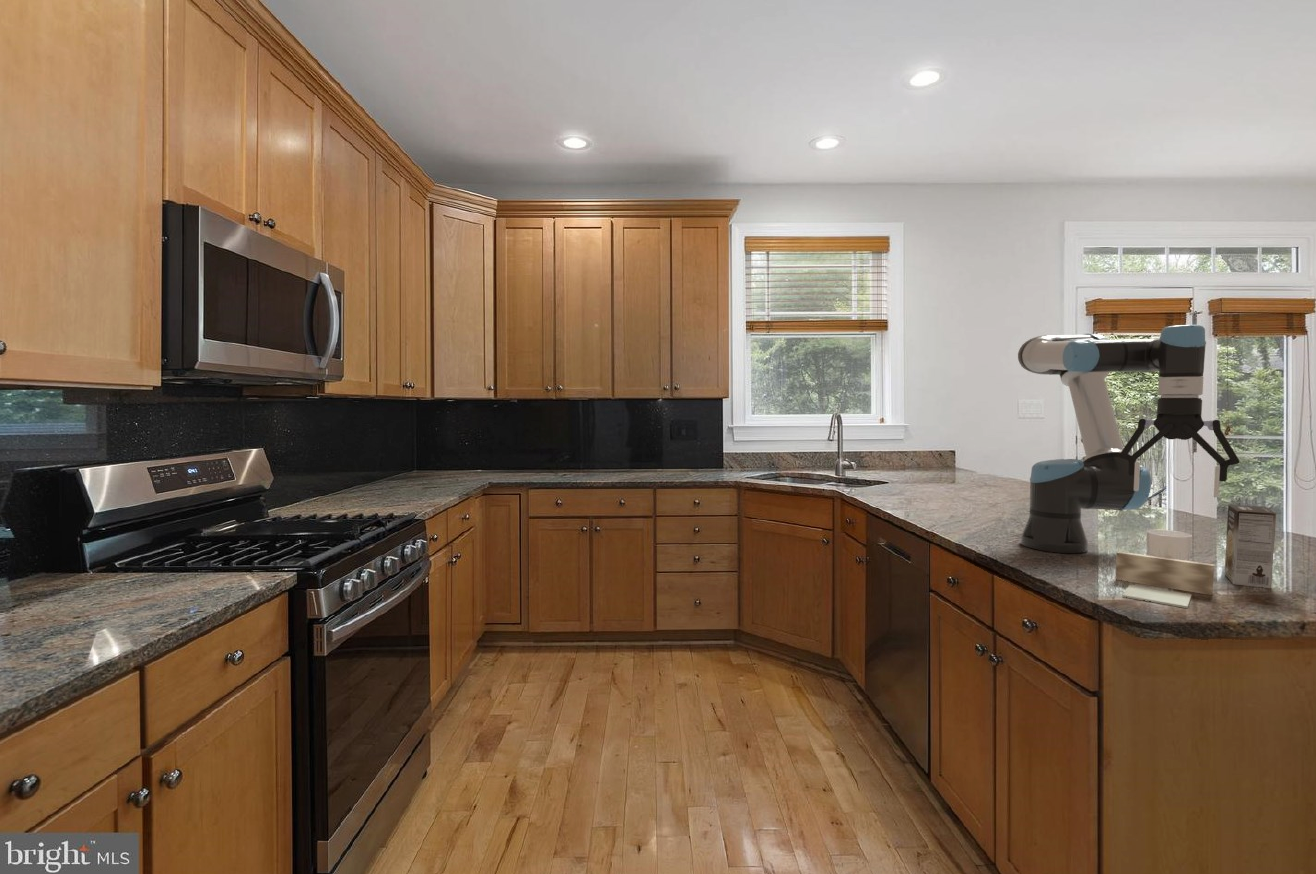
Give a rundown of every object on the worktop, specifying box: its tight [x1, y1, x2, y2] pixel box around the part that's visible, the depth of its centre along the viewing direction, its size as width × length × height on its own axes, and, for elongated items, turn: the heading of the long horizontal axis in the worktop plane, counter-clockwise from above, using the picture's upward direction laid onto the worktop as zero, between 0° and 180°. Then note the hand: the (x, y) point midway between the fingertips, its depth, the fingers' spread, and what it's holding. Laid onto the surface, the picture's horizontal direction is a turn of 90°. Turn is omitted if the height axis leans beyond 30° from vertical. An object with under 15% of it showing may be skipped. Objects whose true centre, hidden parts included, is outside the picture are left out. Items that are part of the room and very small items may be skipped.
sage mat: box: [1122, 583, 1193, 609], centre depth 126 cm, size 10×10×1 cm
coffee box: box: [1224, 504, 1277, 589], centre depth 136 cm, size 9×6×16 cm
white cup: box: [1145, 529, 1193, 561], centre depth 139 cm, size 8×8×10 cm
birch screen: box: [1115, 551, 1215, 596], centre depth 133 cm, size 16×2×6 cm, turn 46°
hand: (1174, 493), depth 139 cm, fingers open, 13 cm apart
